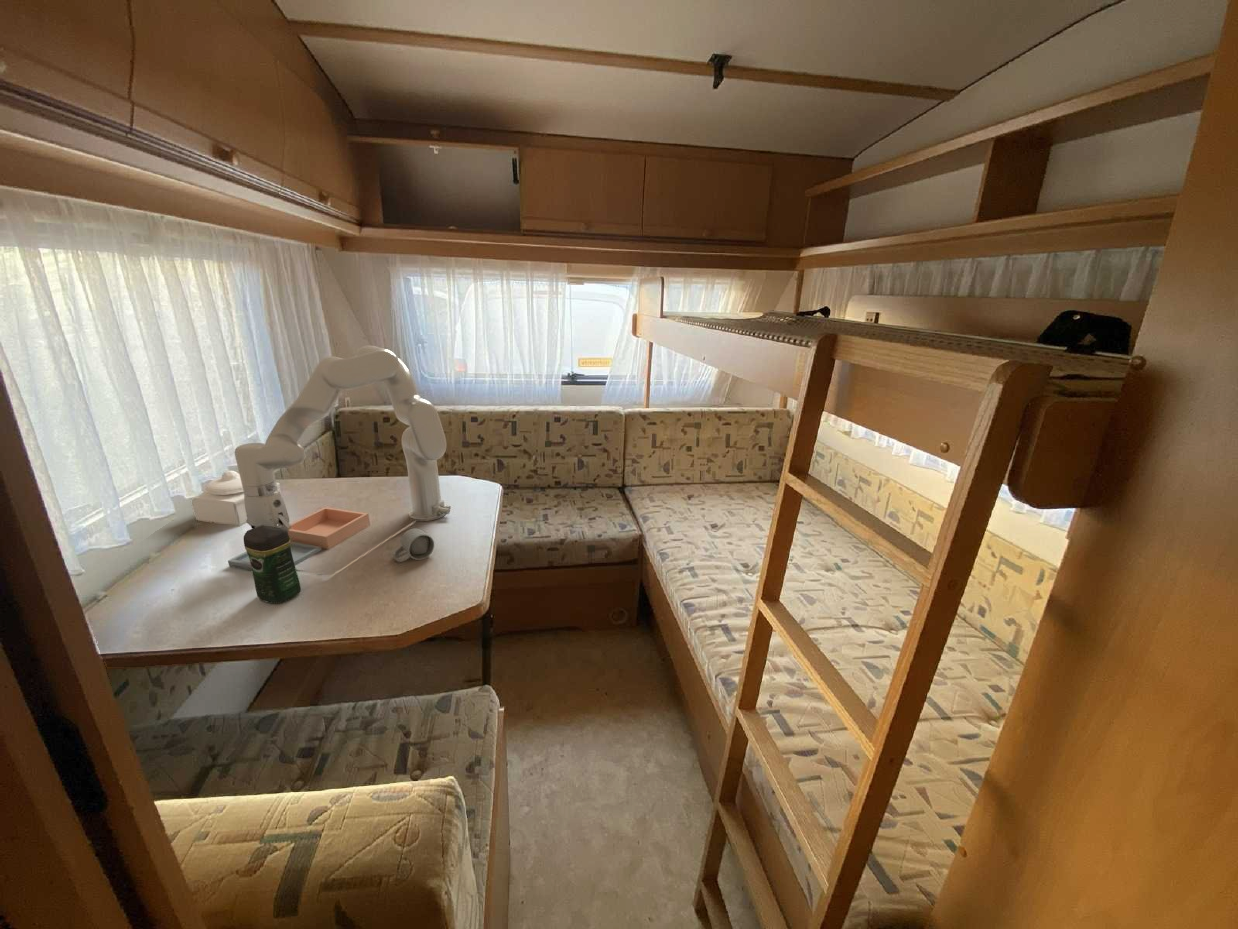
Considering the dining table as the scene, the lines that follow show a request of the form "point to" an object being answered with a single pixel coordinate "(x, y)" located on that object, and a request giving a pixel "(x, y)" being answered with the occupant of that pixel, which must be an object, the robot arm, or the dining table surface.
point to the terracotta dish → (327, 527)
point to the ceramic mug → (415, 545)
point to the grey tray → (297, 550)
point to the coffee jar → (272, 563)
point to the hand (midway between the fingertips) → (273, 547)
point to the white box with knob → (222, 501)
